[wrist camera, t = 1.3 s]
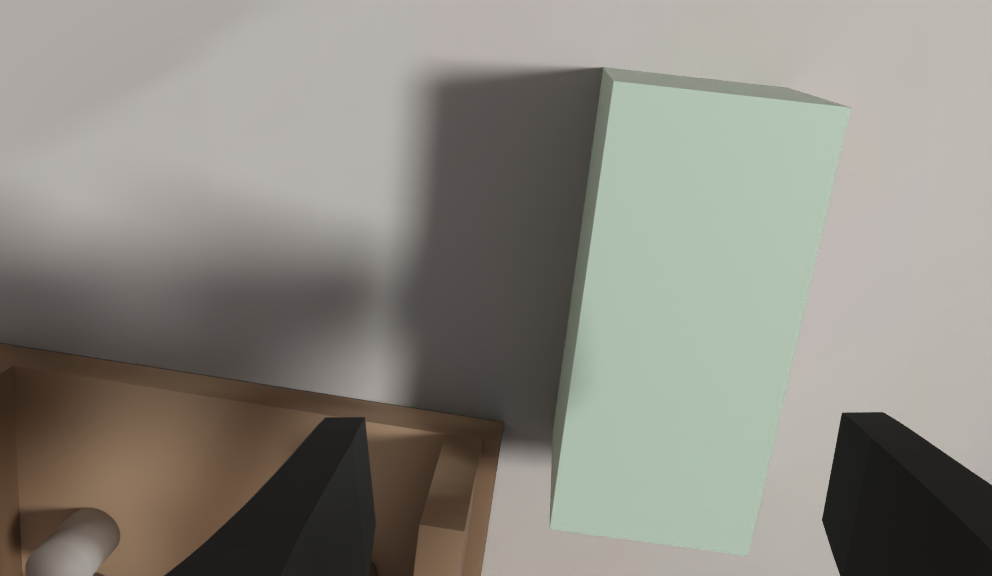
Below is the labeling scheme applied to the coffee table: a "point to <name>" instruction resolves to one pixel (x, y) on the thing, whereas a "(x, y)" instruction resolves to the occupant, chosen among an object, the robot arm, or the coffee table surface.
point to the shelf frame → (211, 467)
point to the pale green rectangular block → (687, 304)
